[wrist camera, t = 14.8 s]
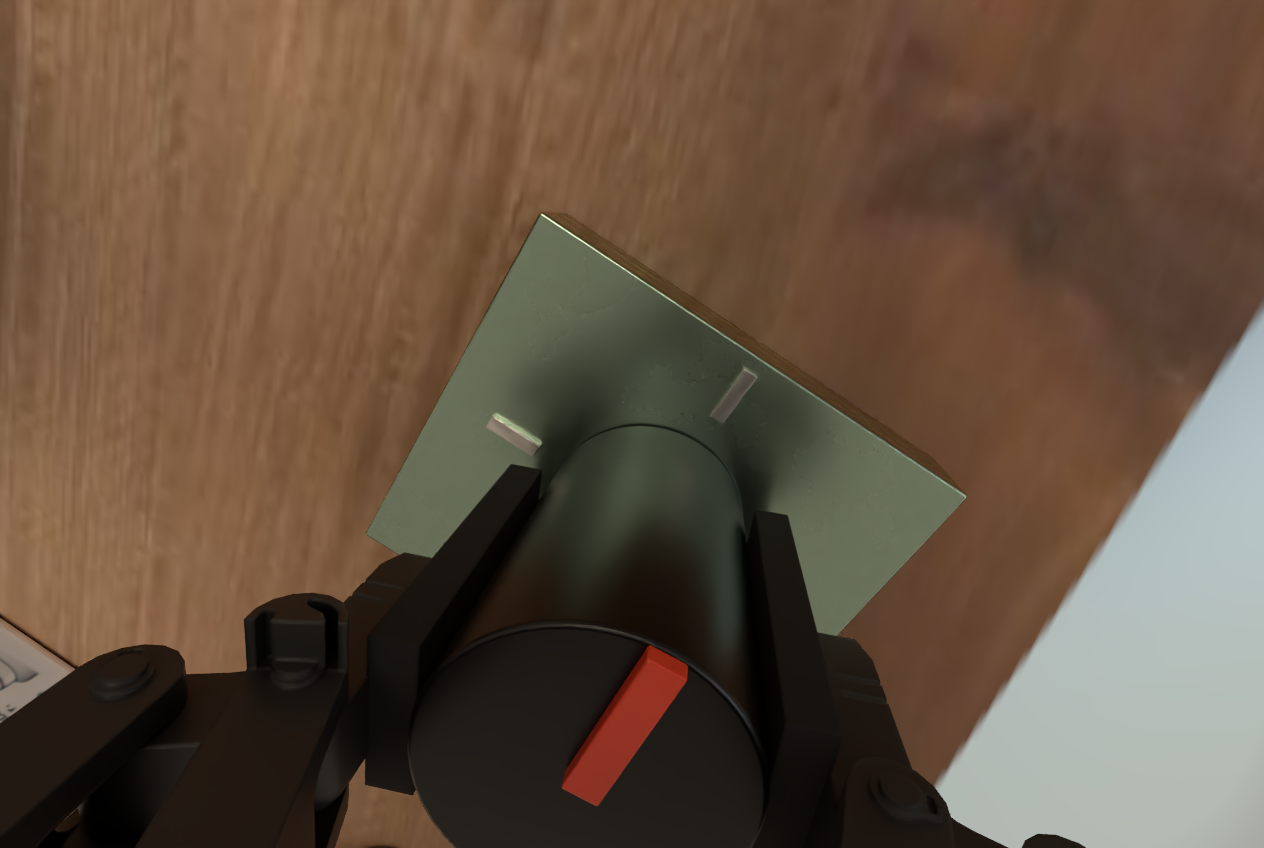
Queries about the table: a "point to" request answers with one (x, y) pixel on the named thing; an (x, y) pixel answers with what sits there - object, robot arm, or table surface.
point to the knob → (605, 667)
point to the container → (25, 670)
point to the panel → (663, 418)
